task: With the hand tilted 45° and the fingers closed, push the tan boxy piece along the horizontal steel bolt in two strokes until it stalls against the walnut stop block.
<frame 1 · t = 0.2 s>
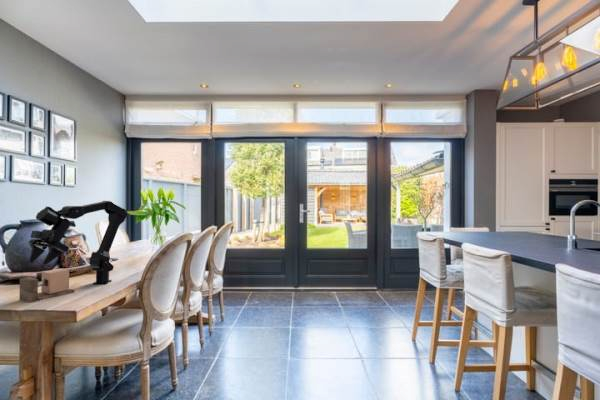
hand: (37, 263, 142), 15 cm above the table, tool tilted 35°, fingers open, 9 cm apart
stop block: (32, 299, 141), on the table
tan boxy piece: (55, 280, 150), point 6 cm above the table, slide at 0.0 cm
bolt: (40, 283, 144), point 5 cm above the table
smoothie: (71, 272, 192), on the table
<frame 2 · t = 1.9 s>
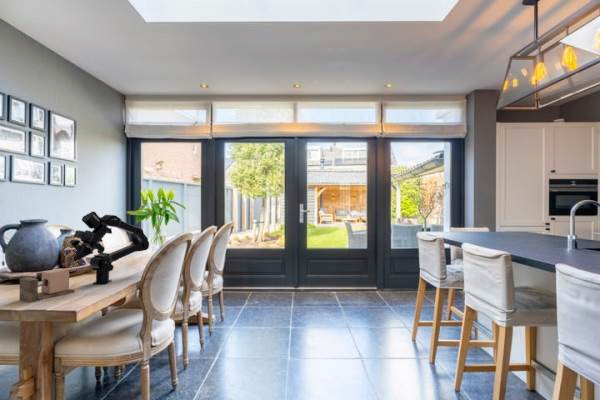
hand: (74, 260, 157), 14 cm above the table, tool tilted 45°, fingers closed
nothing on the table moved.
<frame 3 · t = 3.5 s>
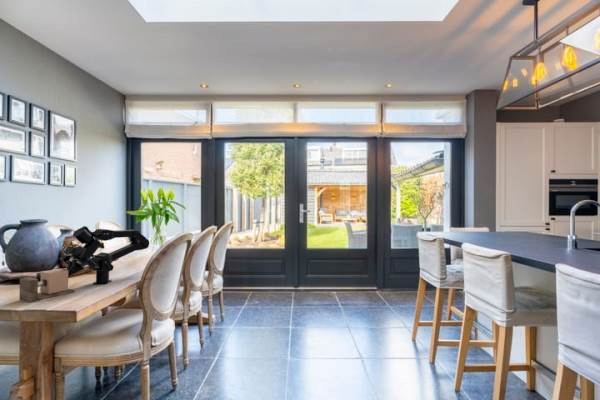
hand: (64, 277, 153), 7 cm above the table, tool tilted 45°, fingers closed, pressing on tan boxy piece
tan boxy piece: (54, 280, 149), point 6 cm above the table, slide at 0.4 cm, touching gripper
everything else where it was.
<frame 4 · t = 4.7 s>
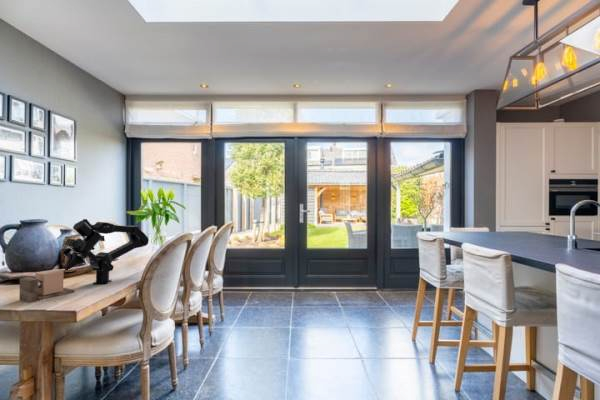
hand: (65, 269, 153), 10 cm above the table, tool tilted 45°, fingers closed
tan boxy piece: (49, 281, 147), point 6 cm above the table, slide at 2.5 cm
everything else where it was.
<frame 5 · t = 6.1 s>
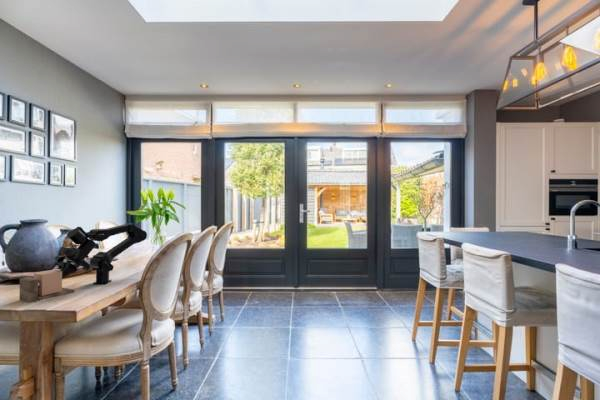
hand: (58, 278, 151), 7 cm above the table, tool tilted 45°, fingers closed, pressing on tan boxy piece
tan boxy piece: (48, 282, 147), point 6 cm above the table, slide at 3.1 cm, touching gripper
everything else where it was.
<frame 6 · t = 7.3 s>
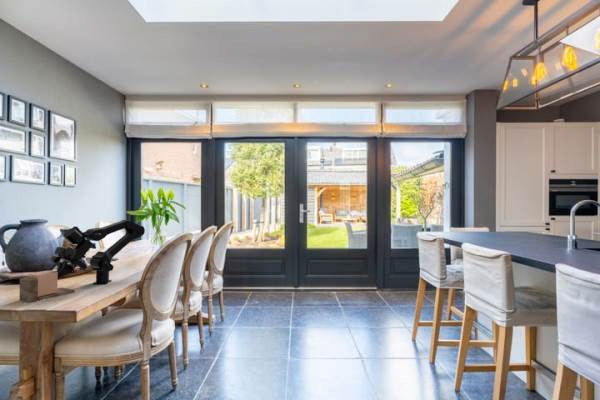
hand: (54, 278, 149), 7 cm above the table, tool tilted 45°, fingers closed
tan boxy piece: (43, 283, 145), point 6 cm above the table, slide at 5.0 cm
everything else where it was.
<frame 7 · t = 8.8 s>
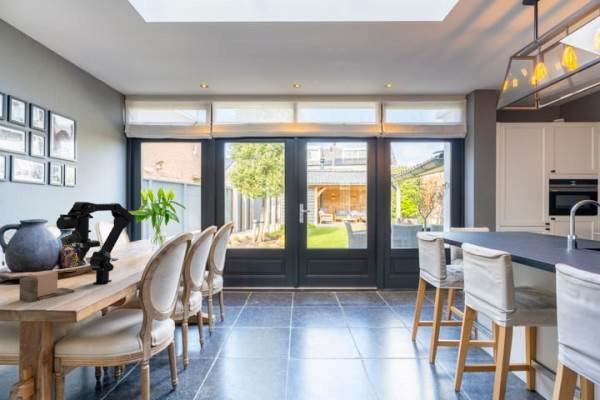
hand: (80, 261, 159), 13 cm above the table, tool pointing down, fingers closed
nothing on the table moved.
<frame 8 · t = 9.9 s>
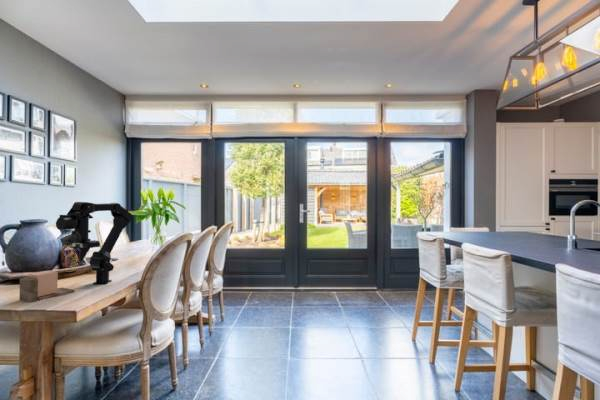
hand: (80, 261, 159), 13 cm above the table, tool pointing down, fingers closed
nothing on the table moved.
at the end: tan boxy piece slide at 5.0 cm; tan boxy piece moved 5.0 cm from its start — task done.
